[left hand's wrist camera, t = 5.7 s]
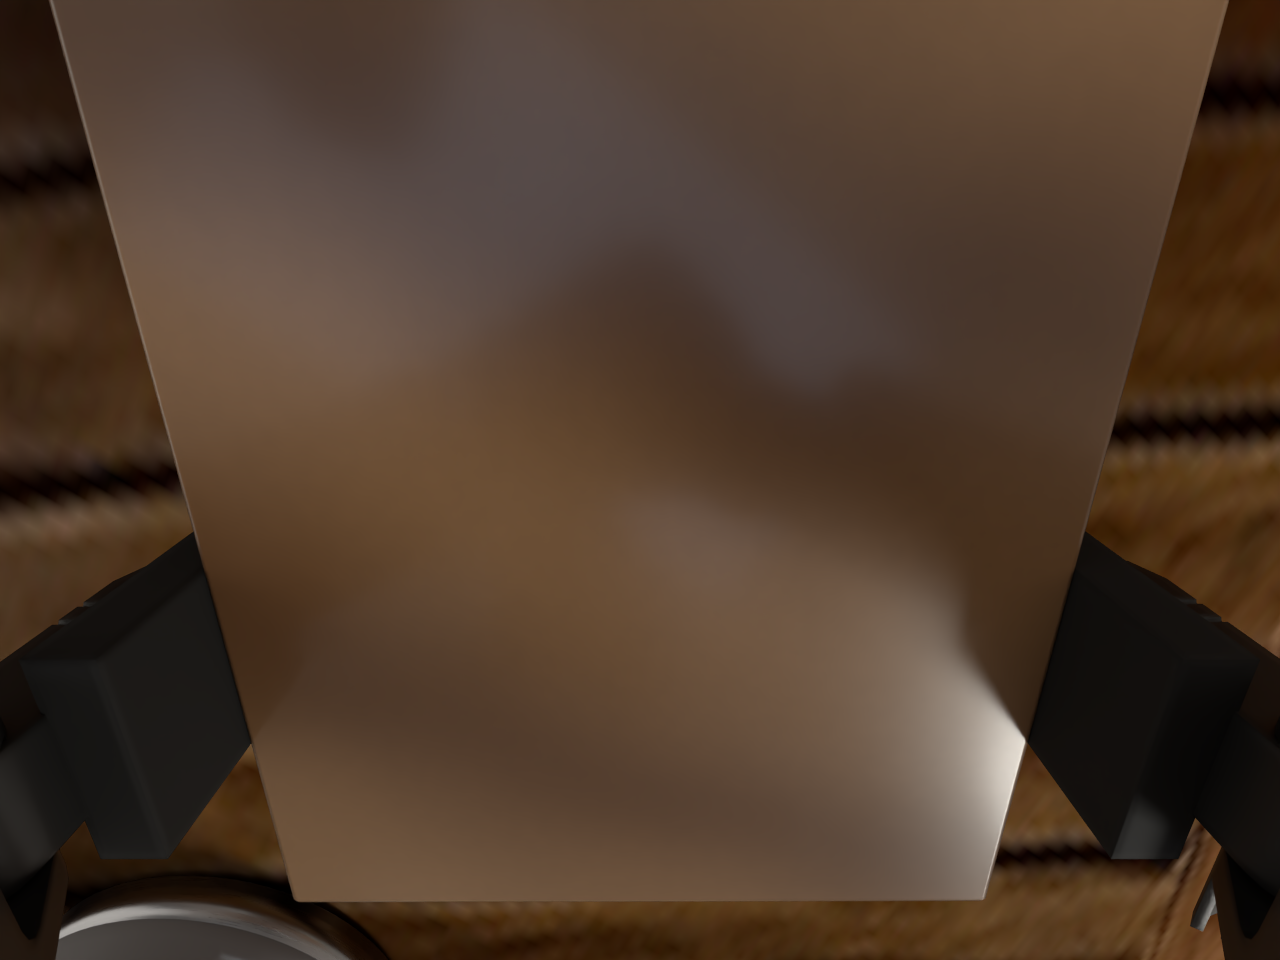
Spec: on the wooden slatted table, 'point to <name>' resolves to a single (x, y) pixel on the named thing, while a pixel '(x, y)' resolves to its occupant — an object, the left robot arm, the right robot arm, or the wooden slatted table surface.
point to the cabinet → (639, 411)
